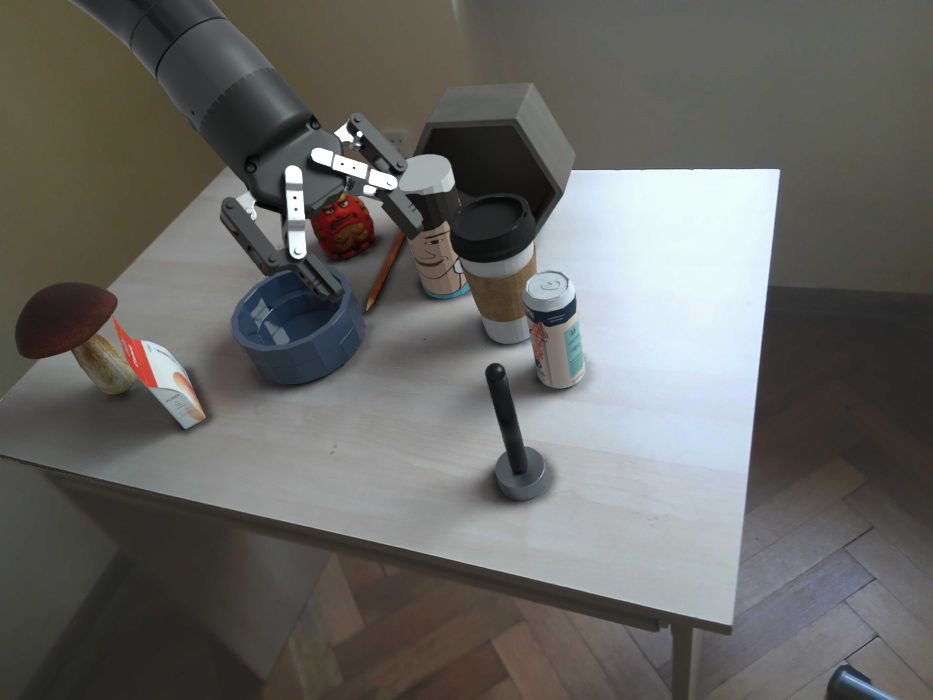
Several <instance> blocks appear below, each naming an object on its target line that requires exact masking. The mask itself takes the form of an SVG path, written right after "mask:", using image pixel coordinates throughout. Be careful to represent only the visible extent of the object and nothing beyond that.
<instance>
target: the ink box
mask: <svg viewBox="0 0 933 700" xmlns="http://www.w3.org/2000/svg"><path fill="white" fill-rule="evenodd" d="M110 318H111V321H112V323H113V326H114V328H115V331H116V334H117V338H118V340H119V343H120V346H121V349H122V352H123V354H124V355H123V356H124V358H125V359H126V361H127V363H128V364H129V365H130V367H131V368H132V370H133V371H134V374H135V376H136V377H137V378H138V379H139V381H141V383H142V384H143V385H144V386H145V387H146V388H147V389H148V391H149V392H151V394H152V395H153V396H154V397H155V398H156V399H157V401H158V402H160V403H161V405H162V406H163V407H164V408H165V409H166V410H167V411H168V412H169V414H170V415H171V416H172V417H173V418H174V419H175V420H176V421H177V423H179V424H180V426H181V427H182V428H183V429H184V430H187V429H189V428H191V427H193V426H195V425H197V424H200V423H201V422H203V421H204V420H205V419H206V415H205V412H204V411H203V408H202V405H201V403H200V401H199V399H198V397H197V395H196V393H195V390H194V387H193V385H192V382H191V379H190V378H189V375H188V373H187V371H186V370H185V368H184V367H183V366H182V365H181V364H180V363H179V362H178V361H177V360H176V358H175V357H174V356H173V355H172V354H171V353H170V351H169V350H168V349H167V348H166V347H163V346H162V345H160V344H158V343H155V342H152V341H148V340H142V339H133V338H131V337H130V336H129V335H128V333H126V331H125V330H124V329H123V327H121V325H120V324H119V322H118V321H117V320H116V319H115V317H114V316H113V314H112V315H111V317H110ZM123 341H124V343H123ZM126 350H127V351H126Z"/></svg>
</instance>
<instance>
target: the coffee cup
mask: <svg viewBox="0 0 933 700" xmlns="http://www.w3.org/2000/svg"><path fill="white" fill-rule="evenodd" d="M535 235H536V225H535V219H534V217H533V216H532V214H531V211H530V208H529V205H528V203H527V201H526V200H525V199H524V198H523V197H521V196H519V195H515V194H507V193H499V194H490V195H484V196H480V197H477V198H474V199H471V200H469V201H467V202H465V203H464V204H462V205H461V206H460V207H458V208H457V209H456V210H455V211H454V213H453V214H452V216H451V218H450V236H449V237H450V242H451V246H452V249H453V251H454V252H455V253H456V254H457V255H458V256H459V261H460V266H461V268H462V271H463V273H464V276H465V278H466V281H467V283H468V286H469V288H470V290H469V291H470V293H471V295H472V298H473V300H474V303H475V305H476V308H477V311H478V312H479V315H480V318H481V320H482V323H483V326H484V329H485V332H486V334H487V335H488V337H489V338H490V339H492V341H494V342H497V343H500V344H504V345H513V344H518V343H521V342H524V341H526V340H528V339H531V338H530V333H529V328H528V323H527V318H526V313H525V308H524V303H523V298H522V294H523V290H524V288H525V286H526V284H527V281H528V280H529V279H530V278H531V277H532V276H533V275H534V274H536V273H538V270H537V269H538V268H537V266H538V265H537V264H538V263H537V247H536V243H535V239H536V238H535ZM534 238H535V239H534ZM533 239H534V241H533Z"/></svg>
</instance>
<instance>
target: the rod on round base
mask: <svg viewBox="0 0 933 700" xmlns="http://www.w3.org/2000/svg"><path fill="white" fill-rule="evenodd" d="M484 376H485V381H486V384H487V387H488V391H489V395H490V398H491V401H492V406H493V409H494V410H493V411H494V413H495V416H496V420H497V424H498V427H499V431H500V434H501V435H500V436H501V438H502V442H503V444H504V449H505V451H504V452H503V453H502V454H501V455H500V456H499V457H498V458H497V461H496V463H495V467H494V472H495V475H496V479H497V482H498V485H499V488H500V490H501V492H502V493H503V494H504V495H505V496H506V497H508V498H509V499H511V500H515V501H527V500H531V499H534V498H536V497H538V496H539V495H540V494H541V493H542V492H543V491H544V490H545V488H546V487H547V483H548V472H547V468H546V462H545V459H544V457H543V455H542V454H541V453H540V452H539V451H538V450H536V449H534V448H533V447H529V446H525V443H524V440H523V435H522V432H521V428H520V423H519V419H518V415H517V412H516V407H515V403H514V398H513V394H512V389H511V386H510V382H509V378H508V374H507V369H506V367H504V365H503V364H501V363H499V362H492V363H490V364H488V365H487V366H486V368H485V370H484Z"/></svg>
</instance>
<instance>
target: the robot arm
mask: <svg viewBox="0 0 933 700" xmlns="http://www.w3.org/2000/svg"><path fill="white" fill-rule="evenodd" d="M67 1H68V2H69V3H70V4H72V5H74V6H75V7H77V8H78V9H80V10H81V11H83V12H84V13H85V14H87V15H88V16H89V17H91V18H92V19H94V20H95V21H96V22H97V23H99V24H100V25H101V26H102V27H104V28H105V29H106V30H108V32H110V33H111V34H112V35H113V36H115V38H117V39H118V40H119V41H120V42H121V43H122V44H123V45H124V46H126V48H127V49H128V50H129V51H130V52H131V53H132V54H133V56H135V58H136V59H137V60H138V61H139V62H140V64H142V66H143V67H144V68H145V69H146V70H147V71H148V72H149V73H150V75H151V76H152V77H153V78H154V79H155V80H156V82H158V84H159V85H160V86H161V88H162V89H163V90H164V92H165V93H166V94H167V96H168V97H169V99H170V100H171V102H172V103H173V105H174V106H175V108H176V109H177V110H178V111H179V112H180V113H181V115H182V116H183V117H184V118H185V120H186V122H187V124H188V125H189V126H190V128H191V129H192V130H193V131H196V132H197V133H198V134H199V135H200V137H201V138H202V139H203V140H204V141H205V142H206V143H207V145H209V147H210V148H211V149H212V150H213V151H214V153H216V154H217V156H218V157H219V158H220V159H221V160H222V161H223V163H225V165H226V166H227V167H228V168H229V169H230V170H231V171H232V173H233V174H234V175H235V176H236V178H238V179H239V180H240V181H241V182H242V183H243V184H244V186H245V188H246V190H247V191H246V192H244V193H242V194H240V195H239V196H237V197H232V196H227V197H225V198H223V199H222V201H221V205H220V211H219V220H220V222H221V224H222V225H223V226H224V227H225V228H226V230H227V231H228V233H230V235H231V236H232V237H233V239H234V240H235V241H236V242H237V243H238V245H239V246H240V247H241V249H242V250H243V251H244V252H245V254H246V256H248V258H249V259H250V260H251V261H252V263H253V264H254V265H255V266H256V268H257V269H258V270H259V271H260V272H261V274H262V275H263V276H265V277H271V276H274V275H275V274H276V273H279V272H282V271H286V270H290V271H293V272H295V273H296V274H297V275H298V276H299V277H300V278H301V280H302V281H303V282H304V283H305V284H306V285H307V286H308V287H309V289H310V290H311V291H312V292H313V293H314V294H315V295H316V296H317V298H319V299H321V300H323V301H325V300H326V299H329V300H330V301H331V302H332V303H335V302H337V301H338V300H339V299H340V298H341V297H342V296H343V295H344V293H345V290H344V288H343V287H342V286H341V285H340V284H339V282H338V281H337V280H336V279H335V278H334V277H333V276H332V275H331V273H330V272H329V271H328V270H327V269H326V268H325V267H324V266H325V265H324V264H323V263H322V262H321V260H319V259H318V257H317V256H316V255H315V254H314V253H313V252H311V253H310V254H308V252H307V243H306V230H305V229H306V220H309V221H310V220H311V219H313V218H314V217H316V216H317V215H318V214H319V212H320V211H321V210H322V208H323V207H326V206H329V205H331V204H333V203H335V202H336V201H337V200H339V199H340V197H341V195H342V193H344V194H347V195H350V196H354V197H364V198H368V199H371V200H374V201H377V202H381V203H382V204H381V206H380V208H381V209H382V210H383V212H385V214H386V215H387V216H388V218H389V219H391V221H392V222H393V223H394V224H395V225H396V227H398V229H399V230H400V231H402V232H403V233H404V234H405V237H406V239H407V238H408V239H410V240H414V239H415V238H416V237H417V236H418V235H419V234H420V233H421V232H422V231H423V230H424V226H423V224H422V223H421V222H422V221H423V218H422V215H421V213H420V212H419V211H418V210H417V209H416V208H415V206H414V205H413V204H412V203H411V202H410V201H409V199H408V198H407V197H406V196H405V195H404V194H403V192H402V191H401V190H400V188H399V181H400V179H401V178H402V176H403V174H404V172H405V171H406V169H407V168H408V163H407V161H406V160H407V159H405V158H404V157H403V155H401V153H399V152H398V150H396V148H395V147H394V146H393V145H392V144H391V143H390V142H389V141H388V140H387V138H385V136H384V135H383V134H382V133H380V131H379V130H378V129H377V128H376V127H375V126H374V125H373V124H372V123H371V122H370V121H369V120H368V118H366V116H365V115H363V113H361V112H358V111H355V112H352V113H351V115H350V116H349V118H348V120H347V122H346V123H345V124H343V125H341V127H340V128H339V129H337V130H336V131H335V132H333V131H331V130H329V129H327V128H325V127H324V126H323V125H322V124H321V123H320V122H319V120H318V119H317V117H316V115H315V114H314V112H313V111H312V109H310V107H309V106H308V105H307V104H306V102H304V100H303V99H302V98H301V97H300V96H299V94H298V93H297V92H296V91H295V90H294V88H292V87H291V85H290V84H289V83H288V82H287V81H286V80H285V78H284V77H283V76H282V75H281V74H280V73H279V71H278V70H277V69H276V68H275V67H274V66H273V64H272V63H271V62H270V61H269V59H268V58H266V56H265V55H264V54H263V53H262V52H261V50H259V48H258V47H257V46H256V45H255V44H254V43H253V42H252V41H251V40H250V39H249V38H248V37H247V36H246V35H245V34H244V33H242V32H241V31H240V30H239V29H238V28H237V27H235V25H234V24H233V23H232V22H231V21H230V19H229V18H228V17H227V16H226V15H225V14H224V13H223V12H222V10H220V8H219V7H218V6H217V5H216V4H215V2H214V1H213V0H67ZM344 147H347V148H349V150H350V151H351V152H358V153H359V154H360V155H361V156H362V157H363V158H364V159H365V160H366V161H367V162H368V163H369V164H370V165H371V166H372V167H373V168H371V167H370V165H368V164H366V163H363V162H360V161H357V160H354V159H351V158H347V157H345V152H344ZM255 207H257V208H259V209H262V210H266V211H270V212H273V213H276V214H279V218H280V219H279V221H280V230H281V231H280V232H281V240H282V244H283V248H281V249H279V250H278V249H276V247H275V246H274V245H273V244H272V243H271V241H270V240H269V239H268V237H267V236H266V235H265V233H264V232H263V231H262V230H261V229H260V227H259V226H258V224H257V223H256V219H257V212H256V210H255ZM408 239H407V240H408Z"/></svg>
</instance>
